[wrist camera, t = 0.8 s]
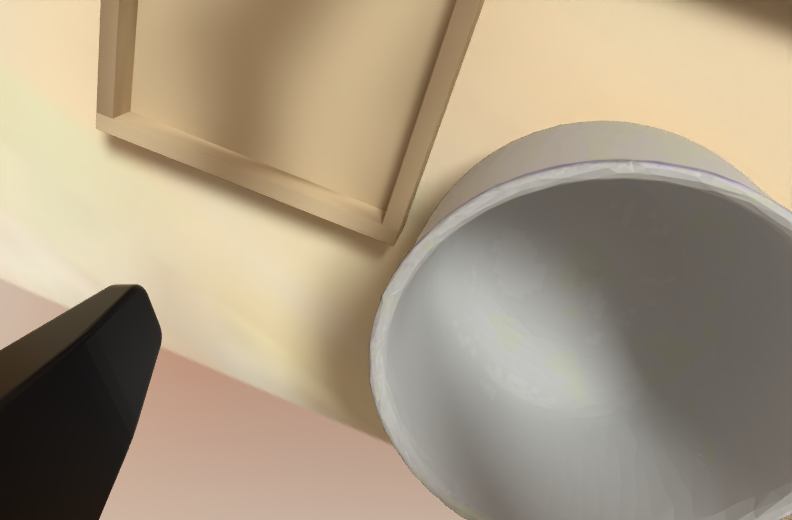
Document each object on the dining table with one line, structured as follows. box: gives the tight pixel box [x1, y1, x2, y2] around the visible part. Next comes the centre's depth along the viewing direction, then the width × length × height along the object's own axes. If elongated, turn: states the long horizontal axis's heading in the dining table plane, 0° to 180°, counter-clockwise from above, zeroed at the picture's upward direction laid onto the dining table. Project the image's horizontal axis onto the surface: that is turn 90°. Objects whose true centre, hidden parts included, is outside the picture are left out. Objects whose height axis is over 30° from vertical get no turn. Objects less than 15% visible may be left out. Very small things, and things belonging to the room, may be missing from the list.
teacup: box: [369, 121, 792, 520], centre depth 17 cm, size 14×11×8 cm
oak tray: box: [96, 0, 484, 246], centre depth 18 cm, size 11×11×2 cm
